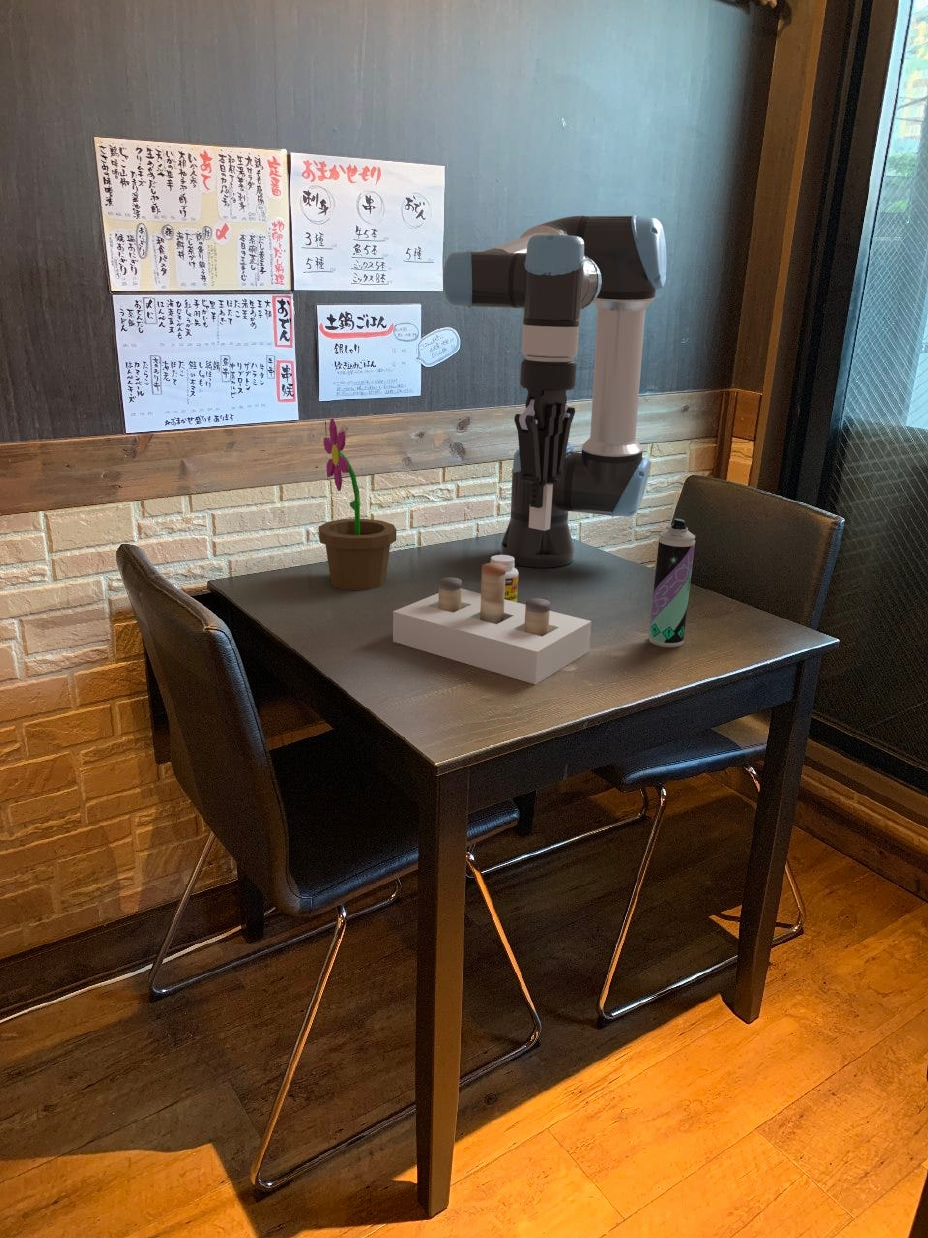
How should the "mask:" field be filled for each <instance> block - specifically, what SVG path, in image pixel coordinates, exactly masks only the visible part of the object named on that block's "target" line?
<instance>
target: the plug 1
mask: <svg viewBox="0 0 928 1238" xmlns="http://www.w3.org/2000/svg"><path fill="white" fill-rule="evenodd" d="M462 584H463V581H462V579H460V578H458V577H447V576H446V577H442V578H439V580H438V593H439V601H438V609H441V610H445V611H449V612H452V613H454V612H456V611H458V610H461V593H462V589H463V587H462Z"/></svg>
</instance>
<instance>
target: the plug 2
mask: <svg viewBox="0 0 928 1238" xmlns="http://www.w3.org/2000/svg"><path fill="white" fill-rule="evenodd" d="M505 573H506V566H505V565H503V564H499V563H491V562H488V563H484V564H482V565H481V578H480V579H481V582H480V585H481V586H480V593H481V606H480V620H482V621H486V622H490V623H493V624H498V623H500V622H502V621H503V617H504V595H505Z"/></svg>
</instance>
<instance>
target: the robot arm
mask: <svg viewBox="0 0 928 1238" xmlns="http://www.w3.org/2000/svg"><path fill="white" fill-rule="evenodd" d="M666 243H667V242H666V236H665V231H664V227H663V224H662V223H661V222H660V220H659V219H658V218H656V217H651V216H649V217H648V216H640V215H636V214H634V215H613V216H612V215H591V216H590V215H589V216H588V215H587V216H585V215H571V216H566V217H561V218H558V219H554V220H550V221H546V222H543V223H541V224H537V225H535V226H533V227H530V228H529V229H527V230H526V231H525V232H523V233H522V234H521V236H520V237H519V238H517V239H515V240H512V241H510V242H506V243H504V244H501V245H498V246H496V247H493V248H490V249H485V250H484V251H483V250H482V251H471V250H466V251H454V252H452V253H450V254H449V255H448V257H447V258H446V260H445V263H444V267H443V272H442V274H443V275H442V276H443V278H442V281H443V282H442V283H443V291H444V295H445V298H446V300H447V301H448V302H449V303H450V304H451V305H453V306H461V307H468V308H470V309H471V308H473V307H477V308H509V309H510V308H512V309H513V308H514V309H522V310H523V320H522V321H523V322H522V324H523V328H522V332H521V337H522V343H521V344H522V345H521V354H522V355H523V356H525V358H524V359H523V358H522V360H521V361H520V377H519V384H520V386H521V387H522V388H524V389H526V390H527V397H526V400H525V409H524V411H523V412H522V413H516V414H515V415H514V424H515V427H516V429H517V436H518V449H517V450H516V451H515V453H514V456H513V461H512V462H513V463H512V469H511V473H512V474H511V476H512V477H511V493H510V498H511V499H510V500H511V501H510V518H509V522H508V525H507V527H506V531H505V533H504V535H503V538H502V541H501V544H500V553H499V555H509V556H512V557H514V564H515V566H516V565H517V566H521V567H527V568H528V567H530V568H542V569H543V568H544V569H545V568H556V567H562V566H567V565H569V564H571V563H573V561H574V559H575V558H574V557H575V547H574V544H573V543H574V542H573V539H572V535H571V531H570V527H569V521H568V520H569V512H573V513H574V512H575V513H582V514H583V513H584V514H592V515H593V514H594V515H603V516H610V517H612V518H613V517H624V518H625V517H626V518H628V517H629V518H630V517H633V516H634V515H636V514H637V512H638V511H639V509H640V505H641V503H642V501H643V497H644V495H645V491H646V486H647V484H648V483H647V482H648V478H649V473H650V465H651V460H650V459H649V458H647V457H643V452H644V451H643V450H644V449H643V446H642V445H641V443H639V442H638V440H637V438H636V434H637V423H638V421H637V420H638V410H639V398H640V397H639V396H640V395H639V394H640V383H641V374H642V373H641V371H642V369H641V368H642V357H643V356H642V355H643V346H644V345H643V344H644V333H645V330H644V329H645V321H646V319H645V318H646V310H647V307H648V306H650V305H651V303H652V302H654V300H655V299H656V290H660V289H663V287H664V286H665V284H666V279H667V263H668V262H667V245H666ZM593 303H594V304H595V306H596V308H597V313H596V327H595V329H596V330H595V331H596V332H595V346H594V347H595V348H594V365H593V380H592V381H593V382H592V384H593V385H592V386H593V387H592V401H591V416H590V418H591V419H590V433H589V434H590V436H589V438H588V439H587V440H586V441H584V442H583V444H582V445H581V452H577V451H575V452H574V447H573V444H572V443H570V442H569V437H570V432H571V426H572V424H573V420H574V416H575V414H576V408H575V407H572V406H568V404H567V402H568V397H567V391H570V390H573V389H574V388H575V387H576V377H577V363H576V361H575V360H574V358H576V357H577V356H578V352H579V337H580V336H579V333H580V332H579V331H580V316H581V315H580V314H581V310H584V309H585V308H587V307H588V306H591V304H593Z"/></svg>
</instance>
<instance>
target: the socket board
mask: <svg viewBox="0 0 928 1238" xmlns="http://www.w3.org/2000/svg"><path fill="white" fill-rule="evenodd" d="M438 601H439V592H438V593H437V592H436V593H435V594H432V595H430V596H428V597H426V598H423V599H420V600H417V601H415V602H412V603H411V604H408V605H406V606H402V607H401V608H398V609H395V610H393V611H392V642H393V643H397V644H400V645H403V646H406V647H410V648H413V649H417V650H420V651H423V652H426V653H429V654H433V655H436V656H440V657H443V658H447V659H450V660H452V661H457V662H460V663H463V664H467V665H469V666H472V667H475V668H479V669H482V670H485V671H488V672H492V673H496V674H500V675H502V676H505V677H510V678H513V679H517V680H519V681H522V682H527V683H529V684H531V685H537V684H539V683H541V682H542V681H543V680H545V679H547V678H549V677H550V676H551V675H553V674H556V673H557V672H558V671H560V670H562V669H563V668H564V667H566V666H568V665H569V664H571V663H573V662H575V661H576V660H578V659H579V658H581V657H582V656H584V655H586V654H587V653H589V652H590V643H591V632H592V631H591V630H592V622H593V621H592V620H588V619H583V618H581V617H577V616H576V617H575V616H573V615H568V614H564V613H560V612H556V611H552V610H550V613H549V629H548V634H546V635H544V636H543V637H542V636H538V635H534V634H531V633H527V632H524V624H525V606H526V603H525V604H524V603H520V602H518V601H517V602H513V601H509V600H505V599H504V617H503V621H502V622H500V623H498V624H493V623H490V622H486V621H482V620H480V606H481V592H478V591H477V592H476V591H472V590H468V589H464V588H462V593H461V610H458V611H456V612H454V613H452V612H449V611H445V610H441V609H438Z"/></svg>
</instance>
